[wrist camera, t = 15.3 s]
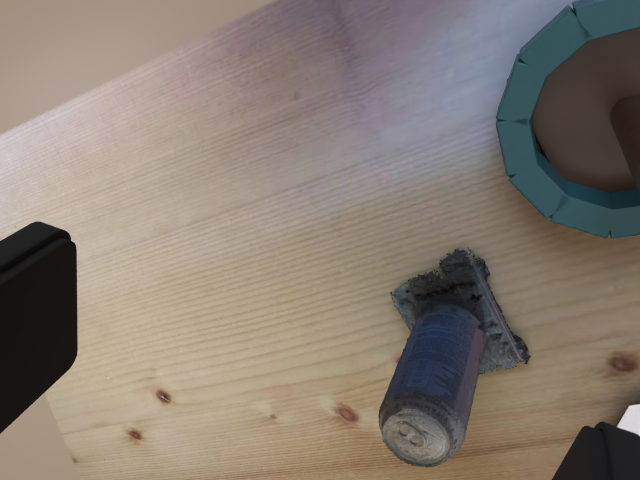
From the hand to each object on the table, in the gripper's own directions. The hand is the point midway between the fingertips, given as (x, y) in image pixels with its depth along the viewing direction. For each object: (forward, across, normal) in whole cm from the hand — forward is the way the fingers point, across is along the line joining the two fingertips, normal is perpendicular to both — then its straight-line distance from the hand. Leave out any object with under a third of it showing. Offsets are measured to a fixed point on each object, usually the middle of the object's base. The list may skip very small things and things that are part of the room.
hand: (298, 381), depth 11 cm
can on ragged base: (+27, -5, +15) cm, 31 cm away
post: (+26, -9, -1) cm, 28 cm away
